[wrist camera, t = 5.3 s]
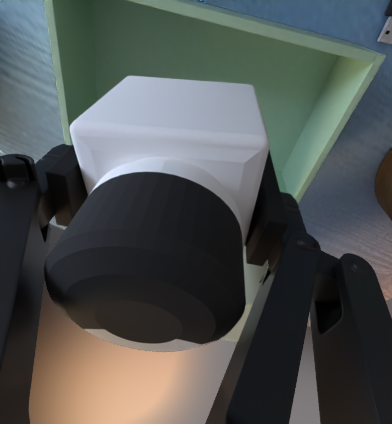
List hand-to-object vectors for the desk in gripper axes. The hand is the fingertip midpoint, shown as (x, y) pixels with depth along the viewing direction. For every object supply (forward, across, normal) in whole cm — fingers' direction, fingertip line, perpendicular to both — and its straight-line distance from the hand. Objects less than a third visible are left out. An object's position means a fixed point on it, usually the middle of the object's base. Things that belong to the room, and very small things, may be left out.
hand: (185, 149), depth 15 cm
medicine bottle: (+2, 0, 0) cm, 2 cm away
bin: (+12, 0, 0) cm, 12 cm away
